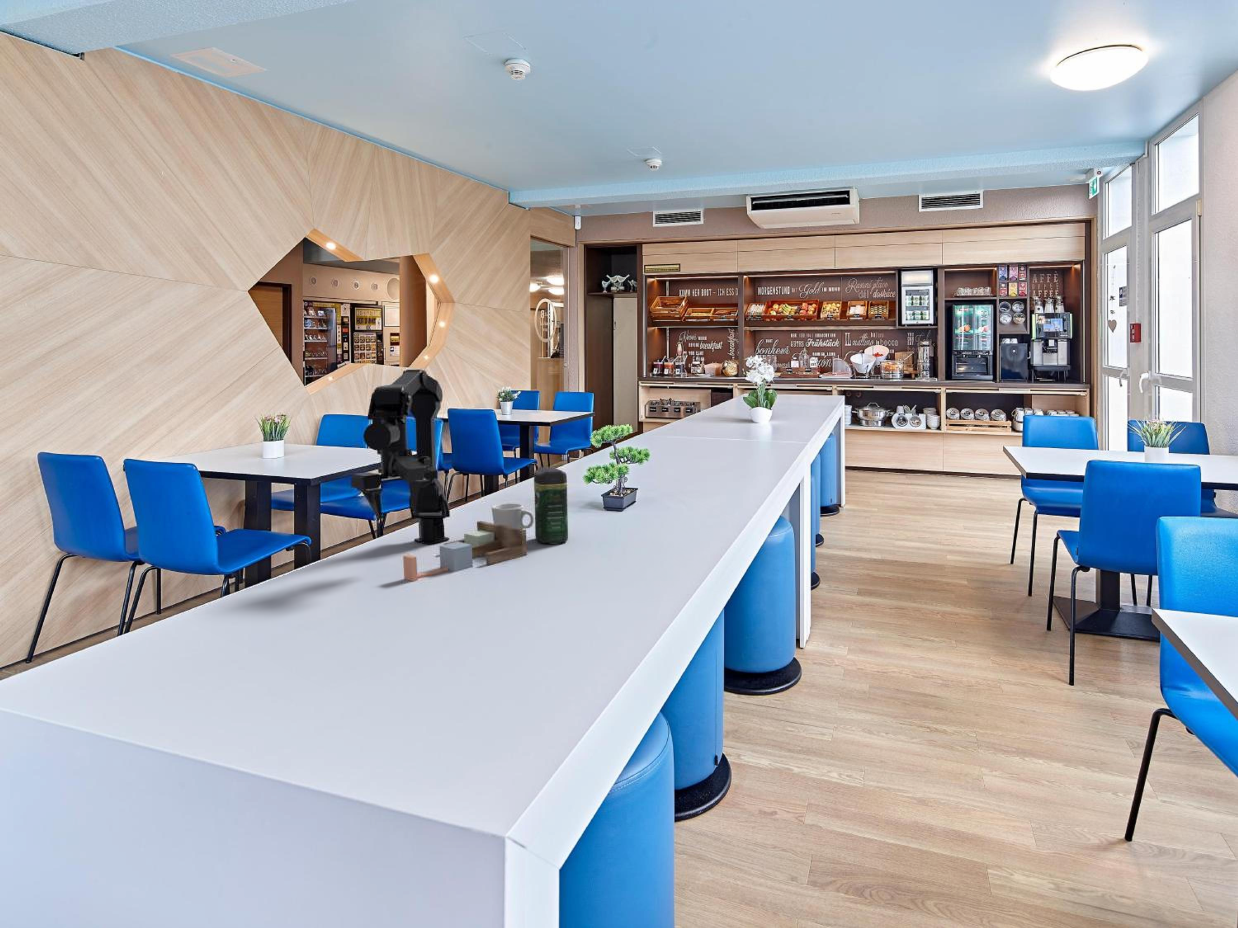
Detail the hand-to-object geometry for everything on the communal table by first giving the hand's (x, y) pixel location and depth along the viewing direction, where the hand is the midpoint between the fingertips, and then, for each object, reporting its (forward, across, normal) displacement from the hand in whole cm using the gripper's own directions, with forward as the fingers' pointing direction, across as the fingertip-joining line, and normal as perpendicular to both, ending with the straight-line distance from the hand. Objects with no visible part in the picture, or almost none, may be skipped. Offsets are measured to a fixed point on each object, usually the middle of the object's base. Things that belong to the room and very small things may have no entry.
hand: (397, 515), depth 175 cm
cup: (+12, +36, +3) cm, 38 cm away
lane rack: (+12, +19, -6) cm, 23 cm away
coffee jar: (+12, +39, -8) cm, 42 cm away
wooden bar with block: (+12, +3, -9) cm, 15 cm away
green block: (+12, +21, -2) cm, 24 cm away
